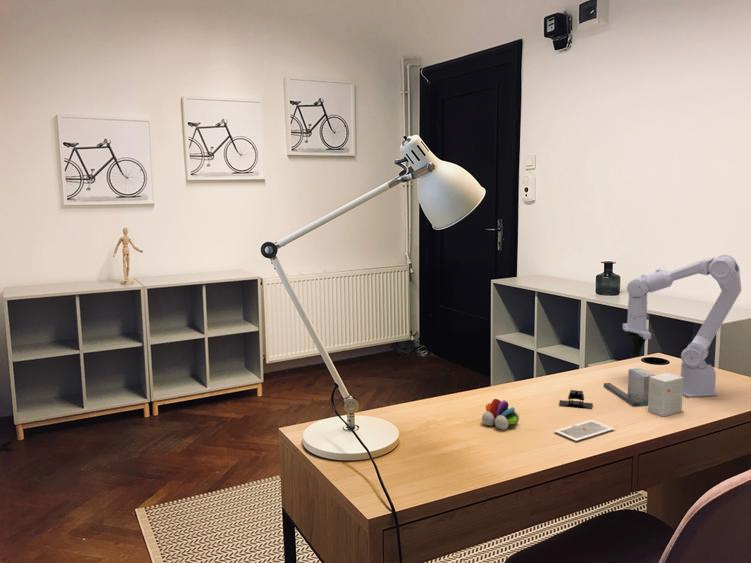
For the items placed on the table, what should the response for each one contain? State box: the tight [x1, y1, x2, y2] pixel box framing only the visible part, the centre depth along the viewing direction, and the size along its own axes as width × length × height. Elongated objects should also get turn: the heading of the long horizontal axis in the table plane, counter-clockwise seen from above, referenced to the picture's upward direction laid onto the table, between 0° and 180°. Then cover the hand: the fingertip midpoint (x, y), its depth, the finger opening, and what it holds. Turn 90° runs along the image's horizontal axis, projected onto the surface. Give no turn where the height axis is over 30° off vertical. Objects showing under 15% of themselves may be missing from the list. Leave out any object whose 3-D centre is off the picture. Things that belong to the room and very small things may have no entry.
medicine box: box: [627, 367, 656, 401], centre depth 198 cm, size 8×4×9 cm, turn 13°
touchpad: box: [554, 419, 616, 441], centre depth 174 cm, size 8×15×2 cm, turn 121°
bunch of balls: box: [481, 398, 520, 431], centre depth 179 cm, size 8×10×7 cm
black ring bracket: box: [558, 389, 594, 410], centre depth 194 cm, size 12×7×5 cm, turn 70°
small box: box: [647, 372, 684, 418], centre depth 187 cm, size 8×6×10 cm
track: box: [603, 382, 648, 408], centre depth 202 cm, size 11×19×1 cm, turn 6°
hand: (635, 355), depth 212 cm, fingers closed
